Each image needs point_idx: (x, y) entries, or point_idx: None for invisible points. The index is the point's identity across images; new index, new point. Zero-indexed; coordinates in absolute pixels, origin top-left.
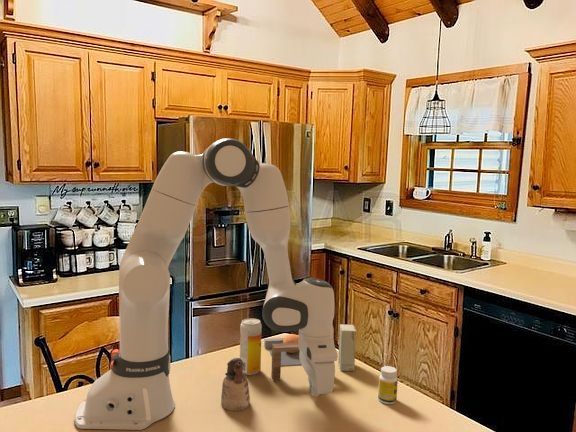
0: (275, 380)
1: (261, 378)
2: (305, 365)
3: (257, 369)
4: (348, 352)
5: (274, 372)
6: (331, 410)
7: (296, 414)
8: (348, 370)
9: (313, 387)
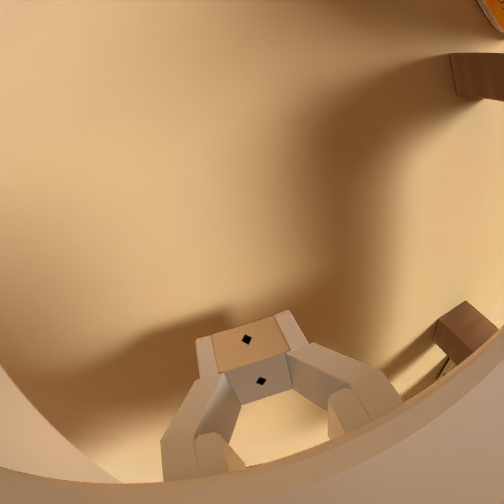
0: (457, 65)
1: (461, 11)
2: (471, 462)
3: (499, 10)
4: None
5: (497, 59)
6: (135, 389)
7: (16, 213)
8: (443, 370)
9: (178, 420)
